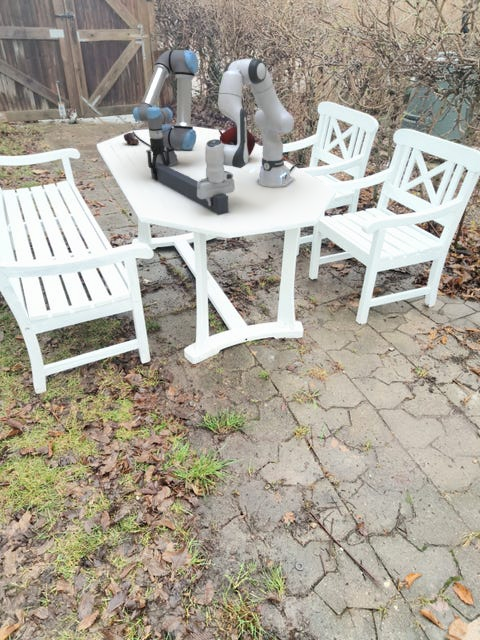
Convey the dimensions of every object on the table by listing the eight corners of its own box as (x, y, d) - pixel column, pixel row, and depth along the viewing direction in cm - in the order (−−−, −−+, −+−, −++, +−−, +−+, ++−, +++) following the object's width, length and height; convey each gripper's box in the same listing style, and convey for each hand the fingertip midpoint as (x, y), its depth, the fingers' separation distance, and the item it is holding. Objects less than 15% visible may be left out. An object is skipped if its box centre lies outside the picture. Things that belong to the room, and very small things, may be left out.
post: (151, 177, 270) (150, 163, 265) (160, 176, 272) (158, 162, 268) (218, 214, 220) (218, 198, 215) (228, 212, 223) (227, 195, 218)
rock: (136, 143, 344) (123, 145, 340) (134, 131, 341) (121, 132, 336) (140, 144, 335) (127, 145, 331) (138, 132, 331) (125, 133, 327)
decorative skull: (216, 132, 305) (216, 129, 282) (250, 124, 304) (252, 121, 281) (223, 164, 312) (223, 164, 288) (256, 157, 311) (259, 156, 288)
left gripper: (144, 141, 246) (149, 183, 260) (174, 136, 255) (177, 177, 268) (138, 138, 251) (143, 180, 265) (168, 134, 260) (171, 174, 273)
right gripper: (200, 181, 209) (201, 210, 217) (236, 174, 219) (236, 201, 227) (193, 178, 214) (195, 206, 221) (228, 170, 223) (229, 198, 231)
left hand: (160, 178), depth 266 cm, fingers closed on post, 6 cm apart
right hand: (216, 203), depth 224 cm, fingers closed on post, 5 cm apart
